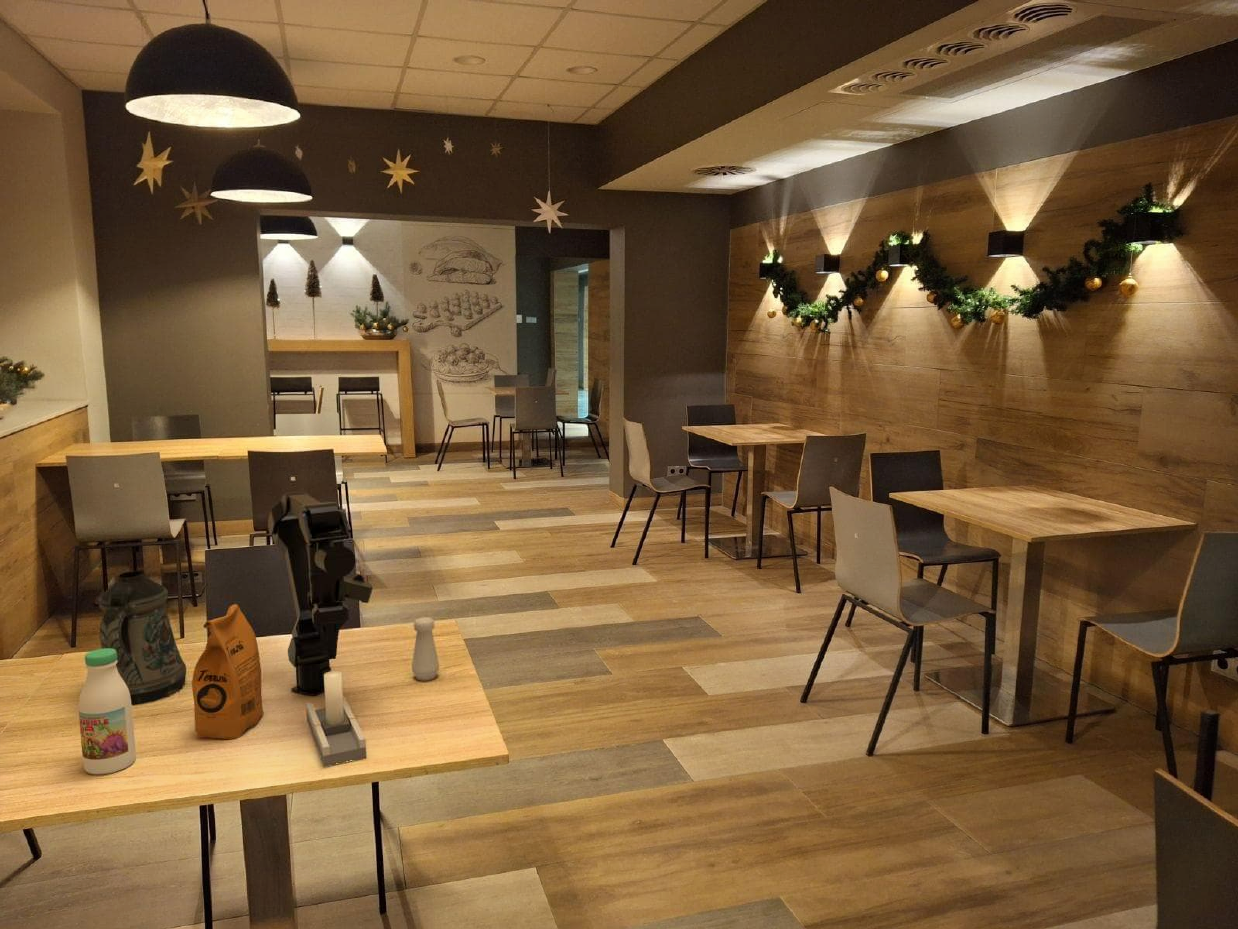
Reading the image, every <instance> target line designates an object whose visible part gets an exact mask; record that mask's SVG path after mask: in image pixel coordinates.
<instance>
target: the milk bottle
mask: <svg viewBox="0 0 1238 929" xmlns="http://www.w3.org/2000/svg"><path fill="white" fill-rule="evenodd" d="M84 662H85V668H86V669H87V673H86V674H87V675H86V679H85V682H84V685H83V687H82V690H81V692H80V695H79V698H78V718H79V731H80V732H79V733H80V745H81V753H82V763H83V769H84V771H85V772H87V773H88V774H90V773H91V774H92V775H106V774H112V773H115V772H119V771H122V770H123V769H126V768H128V767H130V766H131V765H132V764H133V763H134V762H135V761H136V759H137V753H136V740H135V739H136V737H135V729H134V728H135V726H134V716H133V705H132V704H131V697H130V692H129V690H128V687H127V685H126V684H125V682H124V681H123V679H122V678H121V676H120V674H119V672H118V670H117V667H116V663H117V662H118V661H117V652H116V650H115V649H111V648H105V649H101V648H98V649H95V650H91V651H88V652H87V653H86V654H85V655H84ZM91 774H90V775H91Z"/></svg>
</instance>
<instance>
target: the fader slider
mask: <svg viewBox="0 0 1238 929" xmlns="http://www.w3.org/2000/svg"><path fill="white" fill-rule="evenodd" d="M324 687H325V691H324V701H325V702H324V703H325V705H324V706H325V707H324V708H326V719H323V720H321V727H322V729H323V732H324V734H325V736H327V735H332V734H337V733H342V732H347V731H350V723H349V721H348V719H347V717H346V715H343V697H344V696H343V678H342V671H338V670H331V671H330V672H327V673H325V674H324Z"/></svg>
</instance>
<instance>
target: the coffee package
mask: <svg viewBox="0 0 1238 929" xmlns="http://www.w3.org/2000/svg"><path fill="white" fill-rule="evenodd" d="M203 628H204V629H209V632H210V635H209V636H208V638H207V640H206V641H207V642H206V644H205V649H204V651H202V653H201V654H200V656H199V658H198V660H197V662H196V664H195V666H194V669H193V673H192V680H191V687H192V697H193V707H194V712H193V713H194V732H195V733H196V734H197V735H198V737H199V738H202V739H205V738H210V739H221V740H228V739H231V740H233V739H238V738H241V736H242V735H243V733H244V732H245V731H246V729H248V728H251V727H254V726H255V725H257V723H258V722H259V719H260V717H262V715H263V714H264V710H263V708H264V707H263V697H262V696H263V695H262V692H263V691H262V687H263V686H262V666H261V659H260V651H259V645H258V641H257V636H256V633H255V632H254V630H253V627H252V626H251V625H250V623H249V622H248V620H247V618H246V617H245V615H244V613H243V612H242V610H241V609H240V607H239V605H238V604H232V605H230V606H228V609H227V612H226V615H224V616H222V617H221V616H220V617H217V618H214V619H211V620H207V621H205V623H204V624H203Z"/></svg>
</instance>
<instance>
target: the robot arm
mask: <svg viewBox="0 0 1238 929" xmlns="http://www.w3.org/2000/svg"><path fill="white" fill-rule="evenodd" d="M281 497H282V498H281V501H279V502H278V503H277V504H276V505H275V506H274V507H272V508H271V509H270V512H269V516H268V520H267V521H268V522H267V527H268V533H269V535H270V536H272V540H273V544H274V545H275V547H277V548H278V549H279V550H280V551H281V552H282V553H283V554H284V558H285V563H286V568H287V573H288V578H289V583H290V586H291V587H290V588H291V592H292V598H293V604H294V607H295V608H294V609H295V612H296V622H295V624H294V627H293V629H292V632H291V639H290V642H289V645H288V647H287V656H288V661H289V663H290V664H291V665H292V666H293V667H294V668H295V677H296V678H295V679H296V685H295V686H293V687H291V692H295V693H299V694H304V695H310V696H318V695H319V694H322V693H323V692H325V687H324V674H325V673H327V672H330V671H332V667H331V664H330V660H336V659H337V654H338V641H339V633H340V629H341V628H342V627H343V625H345V624H346V623H348V621H349V620H350V614H349V608H348V606H347V605H346V604H345V603H344V602H345V601H346V599H350V600H355V601H359V602H361V603H364V604H369V601H370V598H371V597H372V596H371V595H372V593H373V589H374V586H373V585H372V583H370V582H368V581H365V578H364V577H365V576H364V575H363V574H359V573H354V574H353V576H352V577H346V576H347V575H349V574H350V573H352V571H353V570H354V568H355V565H356V560H357V559H356V556H355V554H354V552H353V551H352V549H350V548H349V547H347V546H345V545H344V540H349V539H350V540H351V530H352V528H351V526H350V523H349V521H348V517H347V514H346V513H345V512H344V510H343V508H342V507H341V506H340V505H339V503H338V502H336V501H332V502H331V501H329V502H328V501H327V502H320V501H319V500H317V499H316V498H314V497H312V496H311V494H309V492H306V491H297V492H288V493H287V492H286V494H282V496H281Z"/></svg>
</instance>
